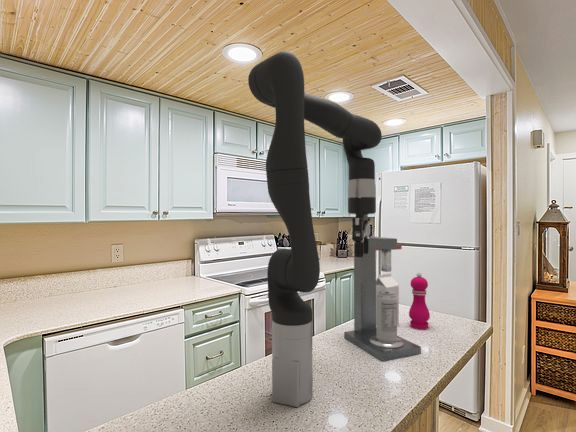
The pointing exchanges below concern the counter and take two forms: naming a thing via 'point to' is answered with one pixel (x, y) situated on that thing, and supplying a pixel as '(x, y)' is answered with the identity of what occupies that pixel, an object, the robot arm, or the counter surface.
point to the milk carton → (387, 284)
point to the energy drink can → (387, 317)
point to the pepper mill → (419, 303)
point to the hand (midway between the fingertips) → (361, 255)
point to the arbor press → (374, 304)
